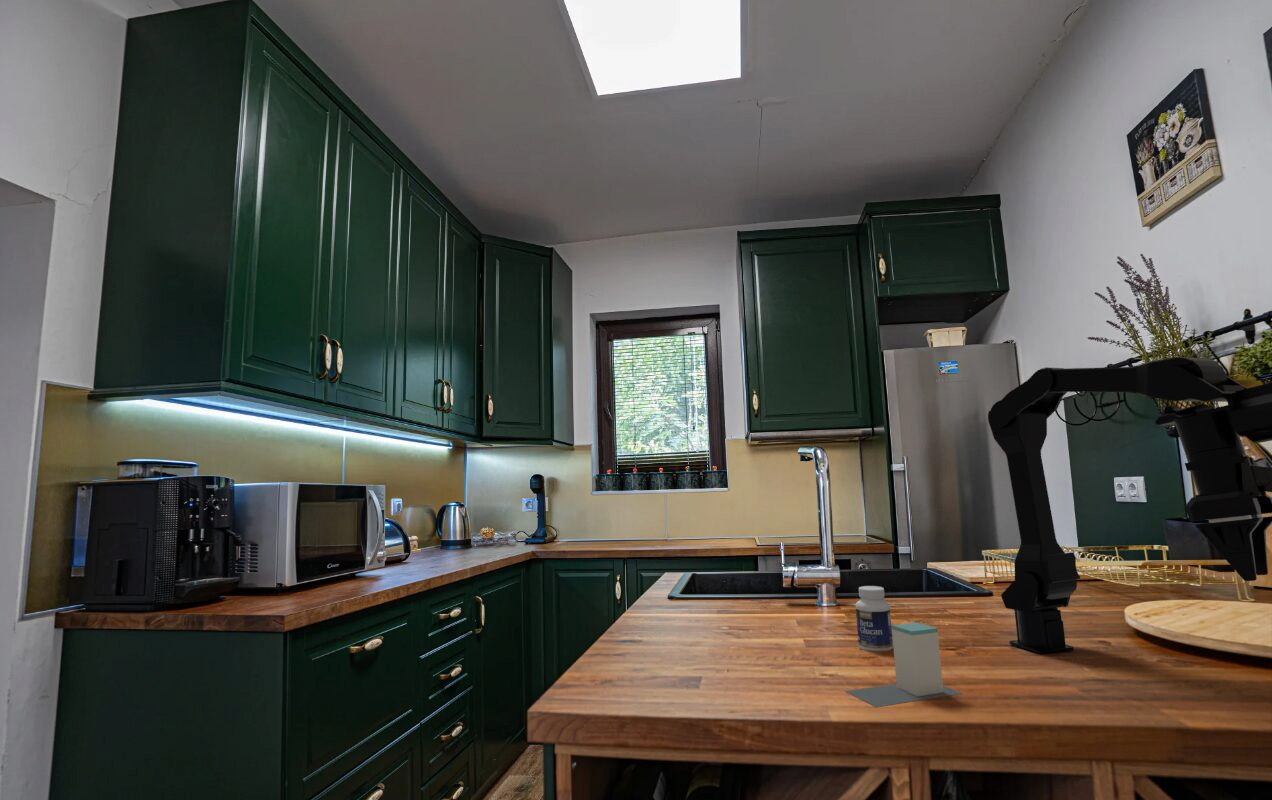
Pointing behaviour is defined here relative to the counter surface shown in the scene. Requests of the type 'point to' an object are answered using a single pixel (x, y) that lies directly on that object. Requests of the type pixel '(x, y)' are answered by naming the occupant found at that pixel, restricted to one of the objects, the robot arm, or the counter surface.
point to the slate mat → (894, 695)
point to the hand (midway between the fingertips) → (1256, 577)
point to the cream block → (917, 658)
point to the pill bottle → (873, 620)
